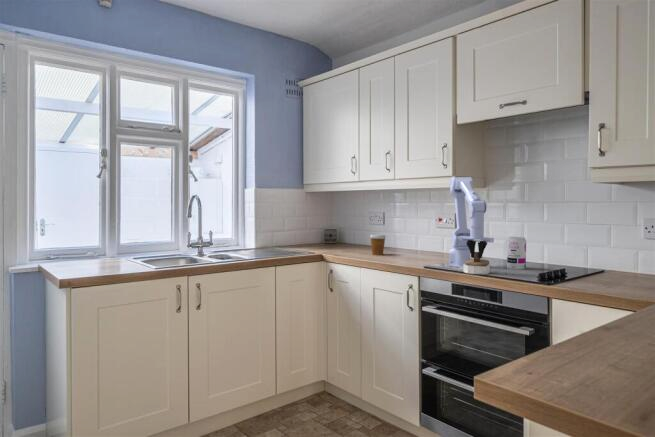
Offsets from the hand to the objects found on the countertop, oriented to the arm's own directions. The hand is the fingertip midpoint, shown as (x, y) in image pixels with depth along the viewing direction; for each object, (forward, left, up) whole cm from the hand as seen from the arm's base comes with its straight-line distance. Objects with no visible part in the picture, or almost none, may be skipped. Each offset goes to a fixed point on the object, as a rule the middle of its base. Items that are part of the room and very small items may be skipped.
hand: (476, 257), depth 206 cm
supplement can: (+9, +25, -7) cm, 27 cm away
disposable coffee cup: (-73, +28, -7) cm, 78 cm away
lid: (0, +1, -3) cm, 3 cm away
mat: (+7, +12, -7) cm, 15 cm away
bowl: (0, 0, -7) cm, 7 cm away
